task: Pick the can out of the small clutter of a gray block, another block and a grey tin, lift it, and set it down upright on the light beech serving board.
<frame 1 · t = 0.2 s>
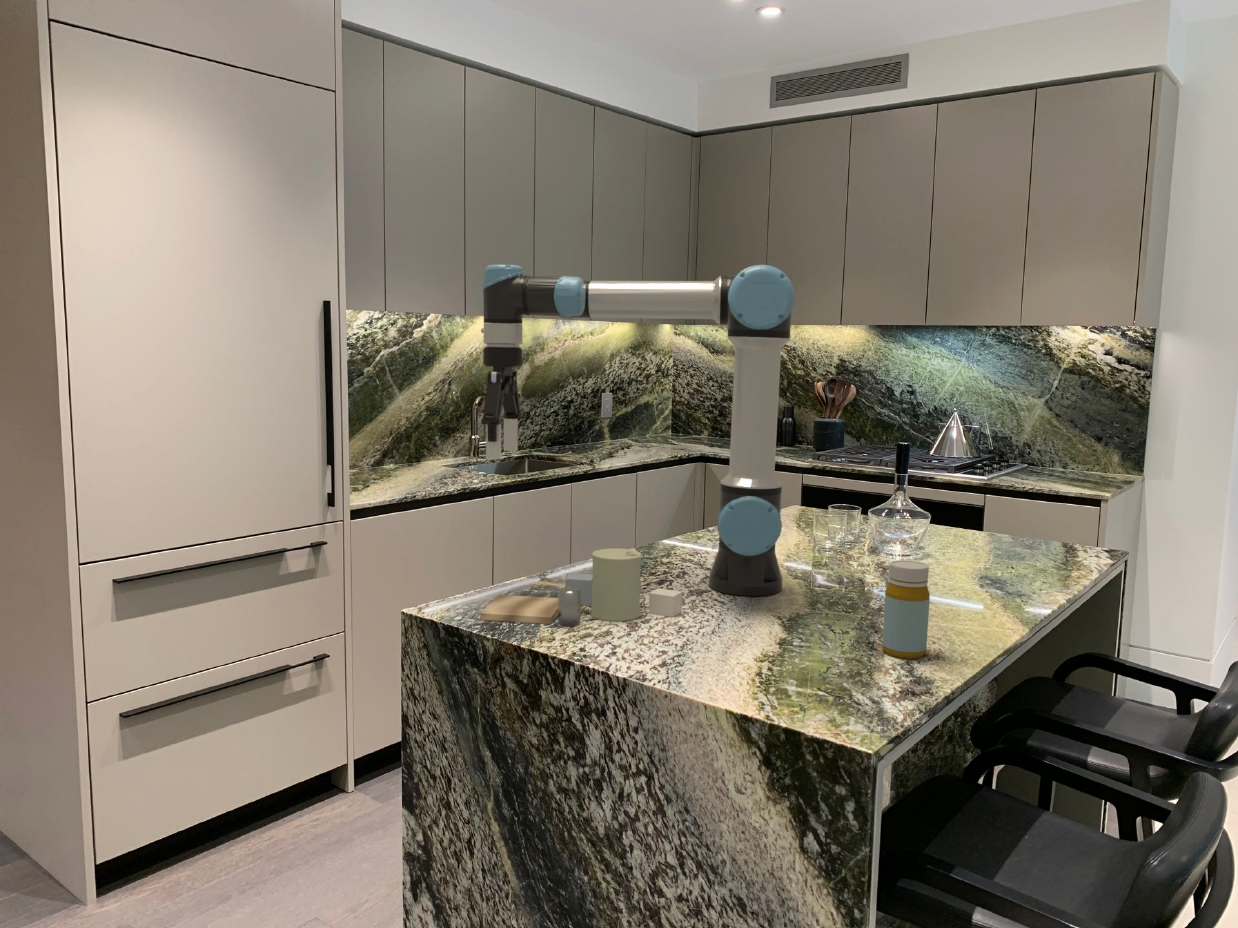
hand: (502, 454, 190), 28 cm above the table, fingers open, 13 cm apart
tin: (569, 622, 173), on the table
board: (523, 611, 179), on the table
block white: (665, 613, 181), on the table
block gray: (579, 601, 187), on the table
can: (615, 615, 179), on the table
bottle: (903, 653, 160), on the table
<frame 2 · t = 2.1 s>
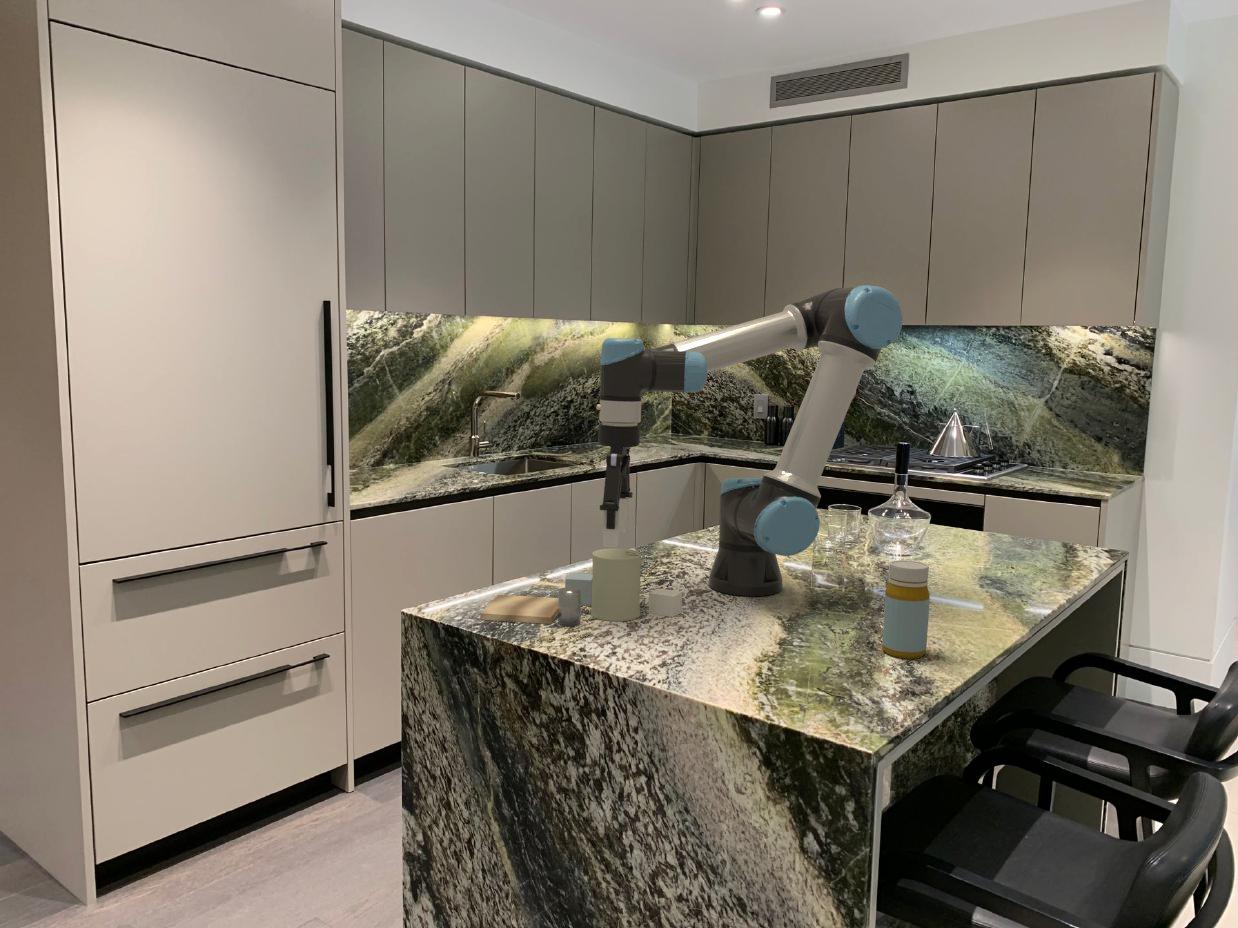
hand: (615, 539, 177), 14 cm above the table, fingers open, 13 cm apart
nothing on the table moved.
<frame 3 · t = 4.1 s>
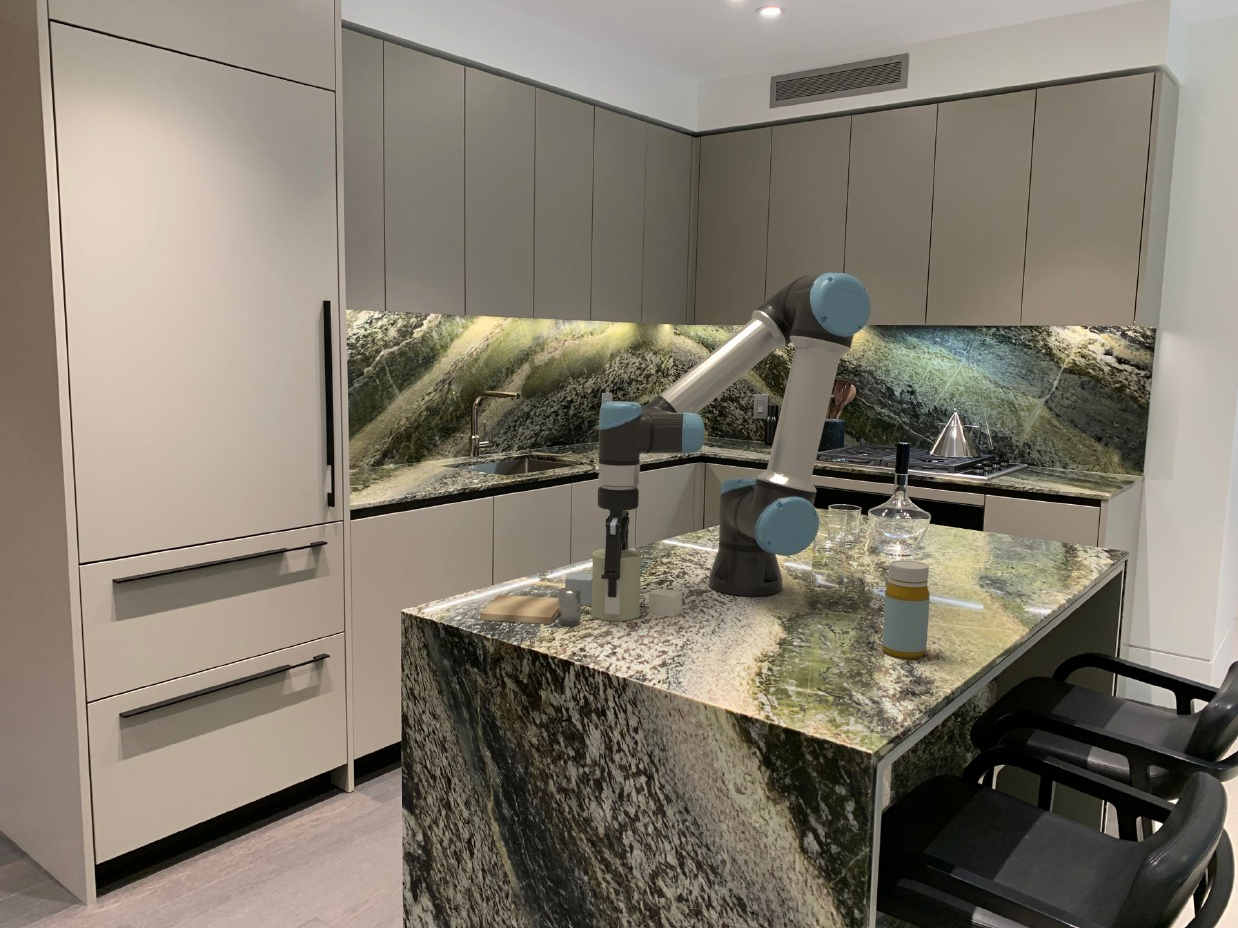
hand: (615, 606, 179), 1 cm above the table, fingers closed on can, 9 cm apart
can: (615, 615, 179), on the table, touching gripper
everything else where it was.
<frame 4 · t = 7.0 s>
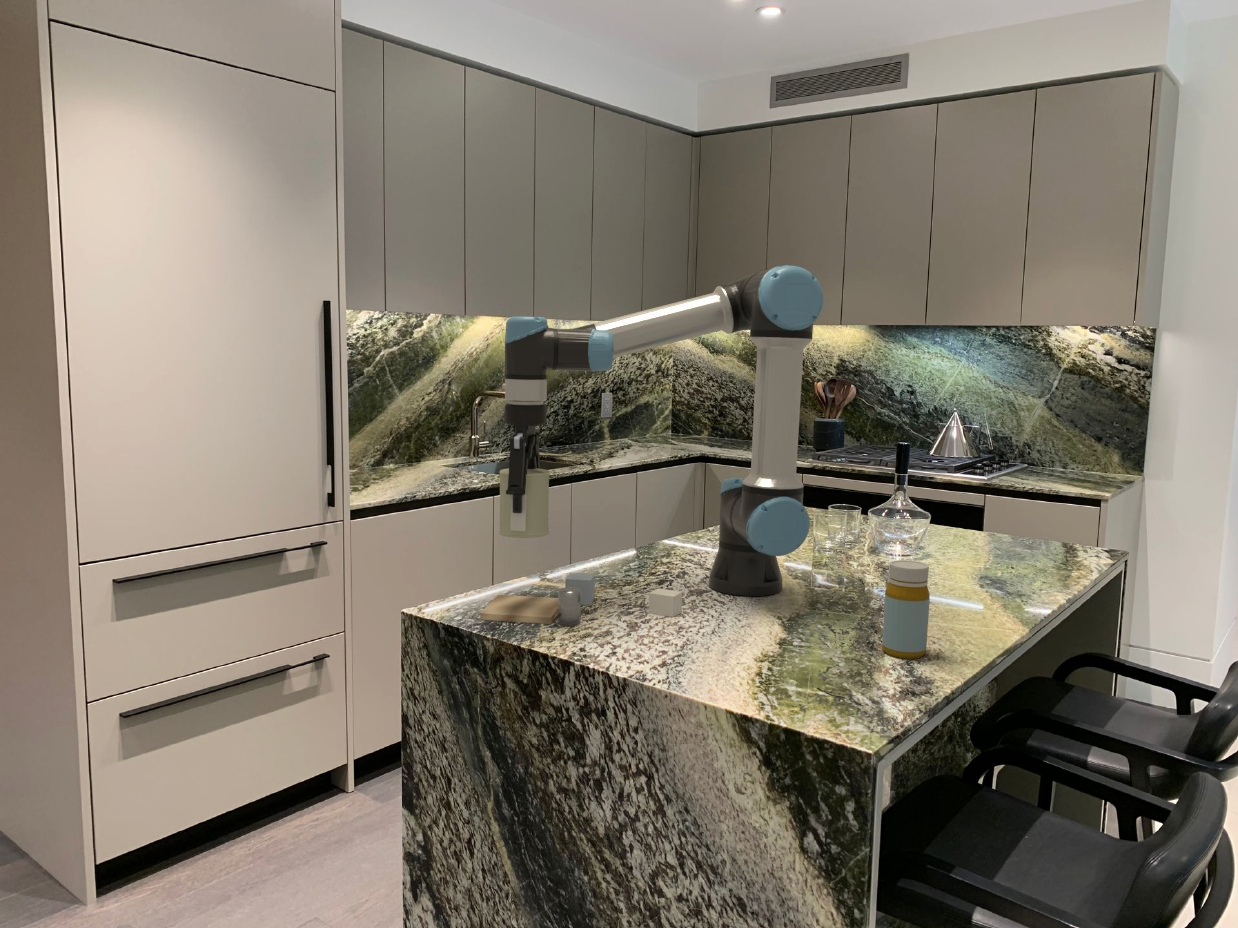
hand: (524, 525, 177), 16 cm above the table, fingers closed on can, 9 cm apart
can: (523, 534, 177), point 15 cm above the table, touching gripper
everything else where it was.
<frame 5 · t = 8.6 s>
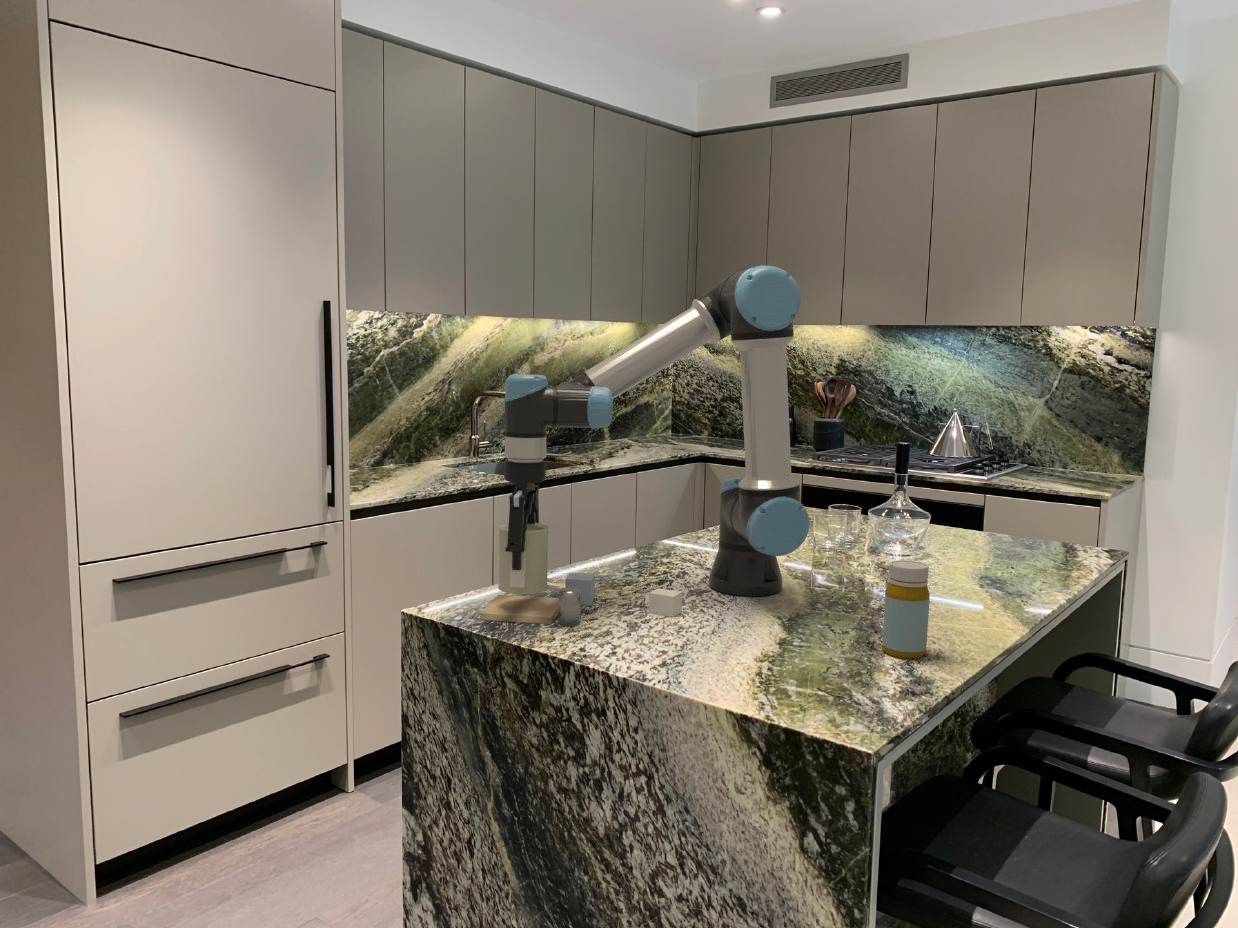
hand: (523, 580, 178), 6 cm above the table, fingers closed on can, 9 cm apart
can: (523, 588, 178), point 4 cm above the table, touching gripper
everything else where it was.
when the fingers open (4 cm above the table, at t = 9.9 s): can drops 2 cm, resting on board.
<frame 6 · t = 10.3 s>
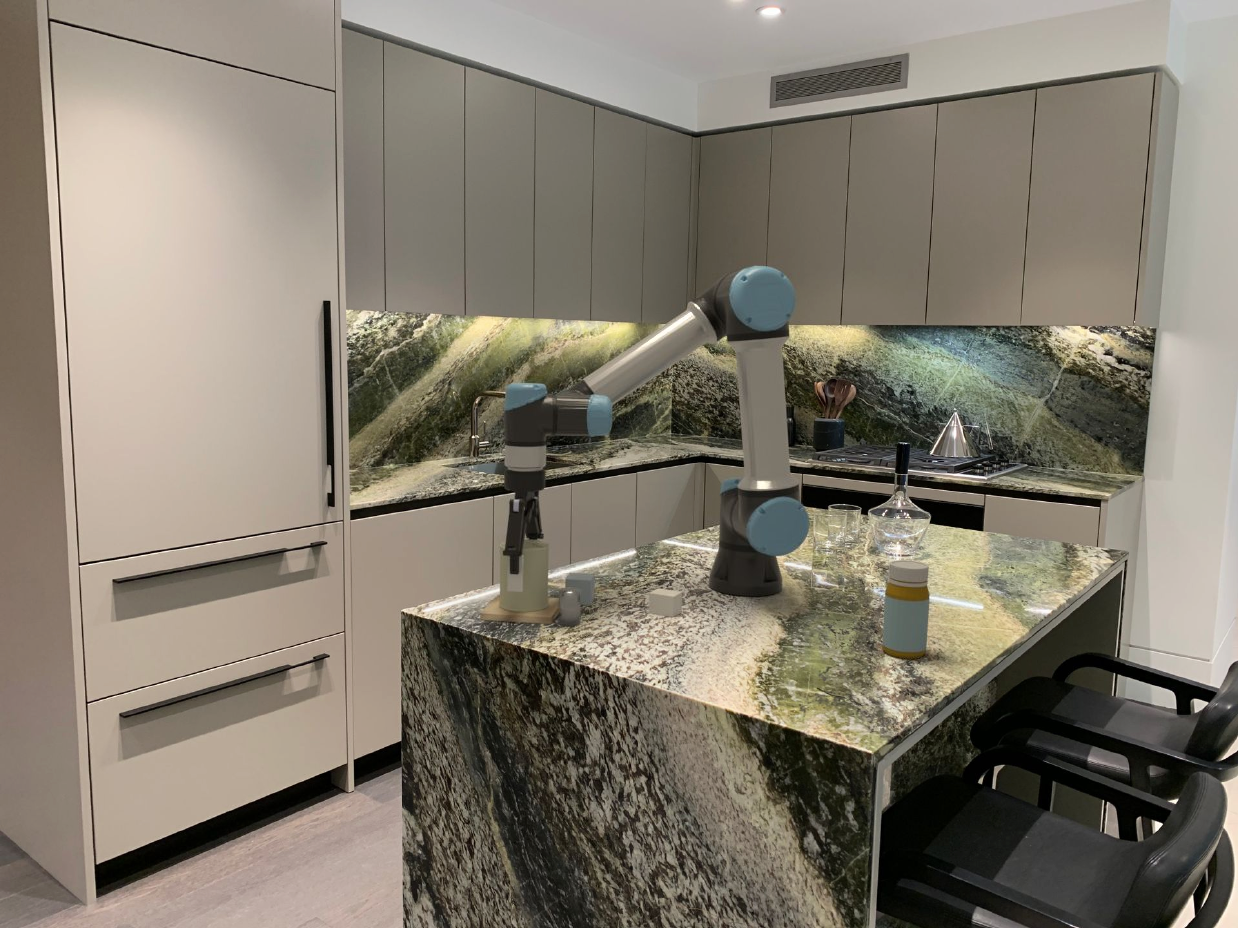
hand: (523, 581, 178), 6 cm above the table, fingers open, 13 cm apart
can: (523, 606, 179), point 1 cm above the table, touching board
everything else where it was.
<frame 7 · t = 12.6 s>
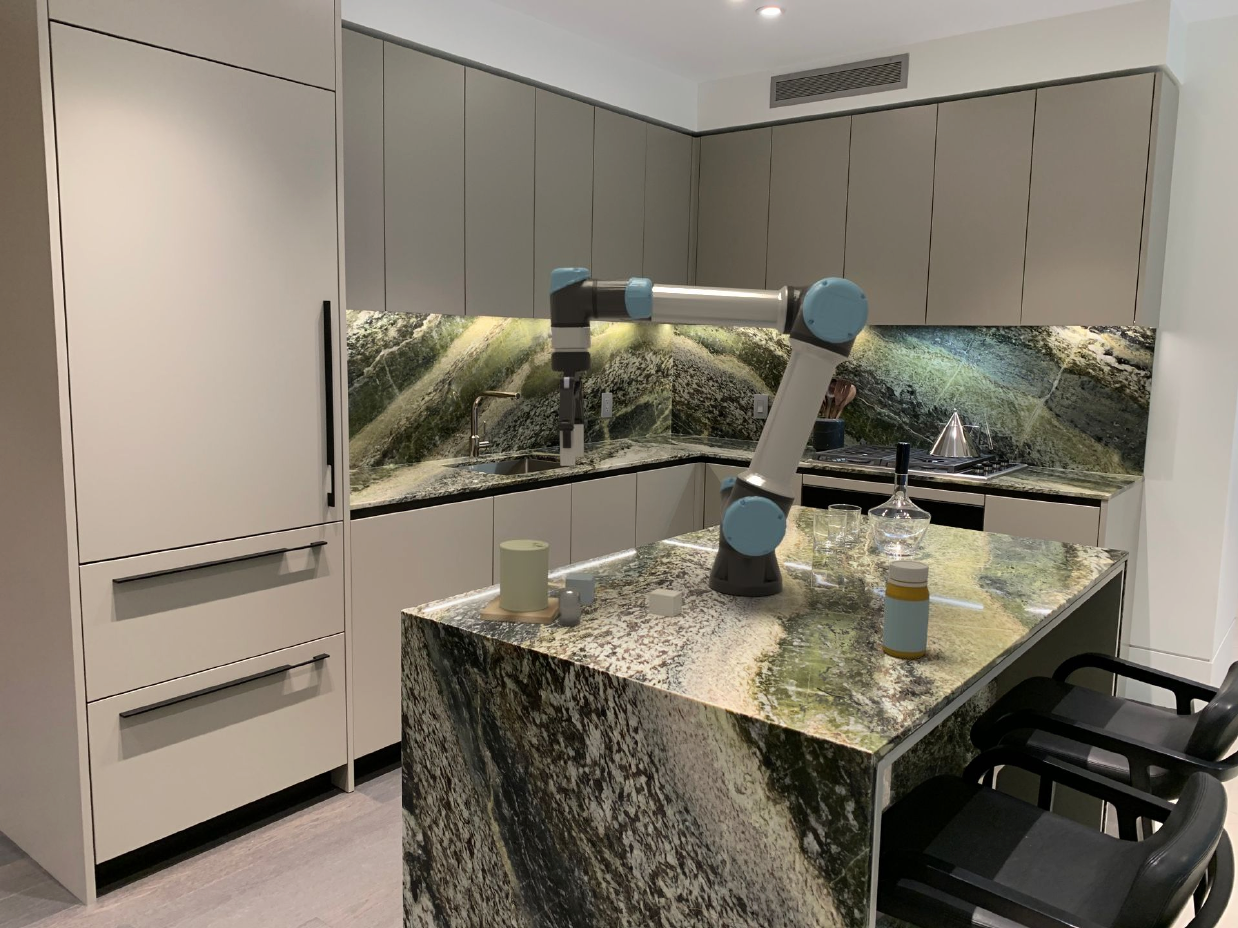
hand: (572, 461, 186), 27 cm above the table, fingers open, 13 cm apart
nothing on the table moved.
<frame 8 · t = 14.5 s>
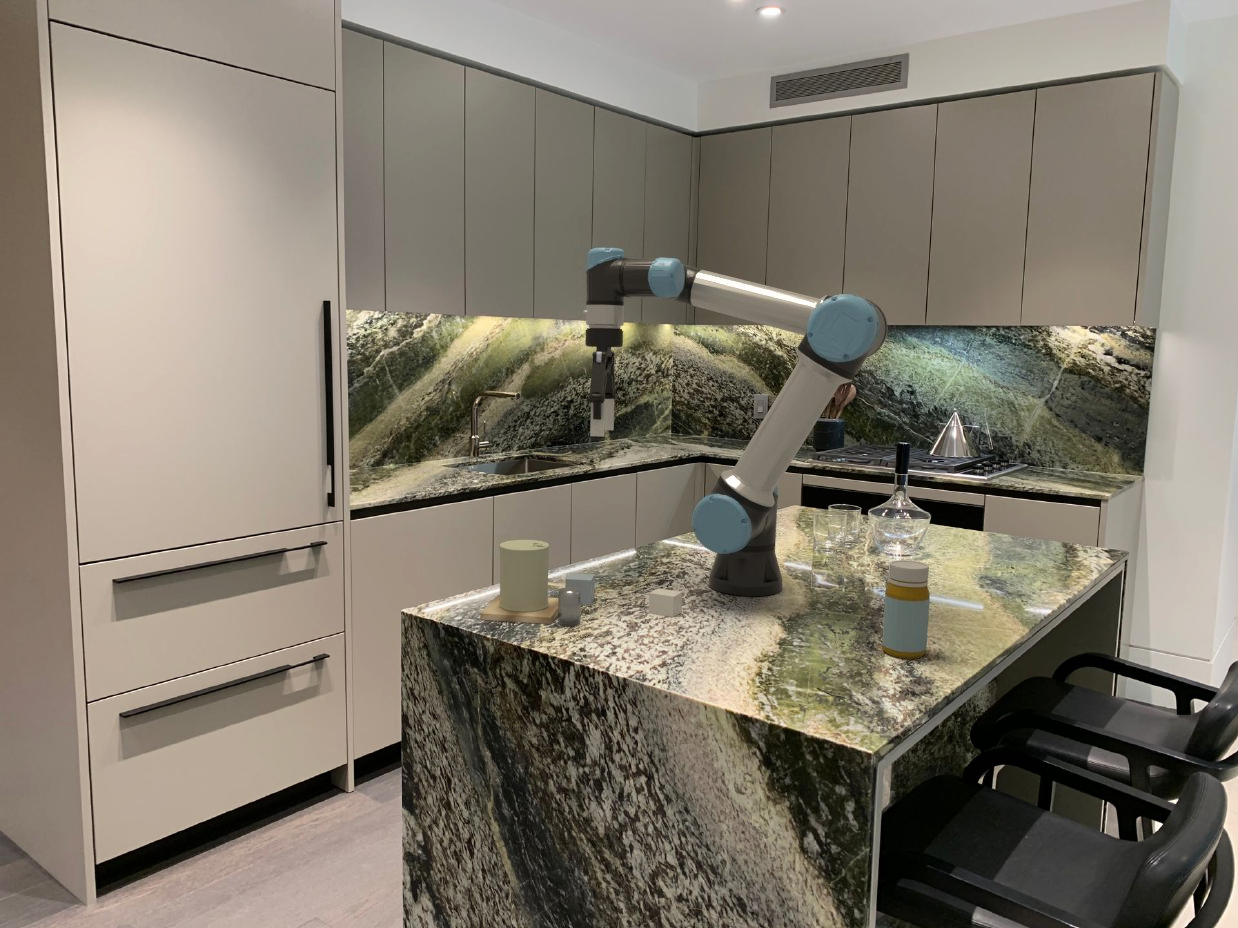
hand: (602, 433, 195), 32 cm above the table, fingers open, 13 cm apart
nothing on the table moved.
at the end: can 0.1 cm from the board (horizontally); can tilted 0°; can touching board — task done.
